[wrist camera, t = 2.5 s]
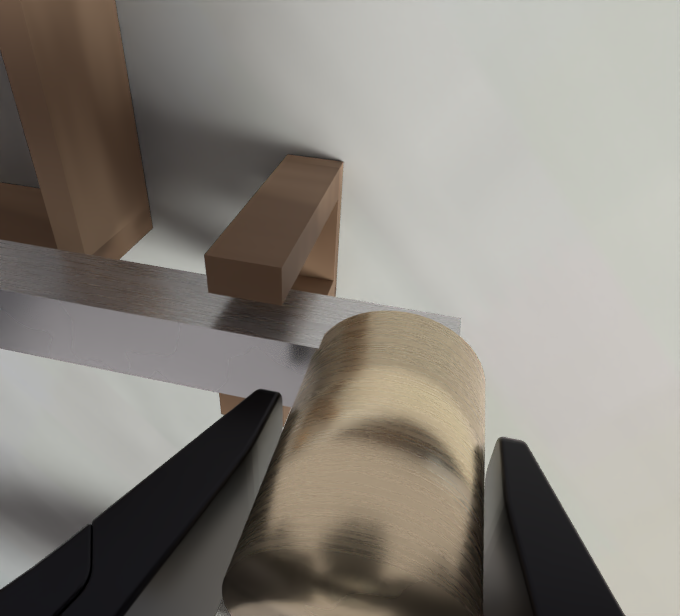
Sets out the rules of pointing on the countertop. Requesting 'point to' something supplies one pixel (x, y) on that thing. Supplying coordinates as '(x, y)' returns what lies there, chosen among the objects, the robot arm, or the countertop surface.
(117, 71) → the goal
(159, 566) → the robot arm
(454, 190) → the countertop surface
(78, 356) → the rod
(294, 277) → the block
